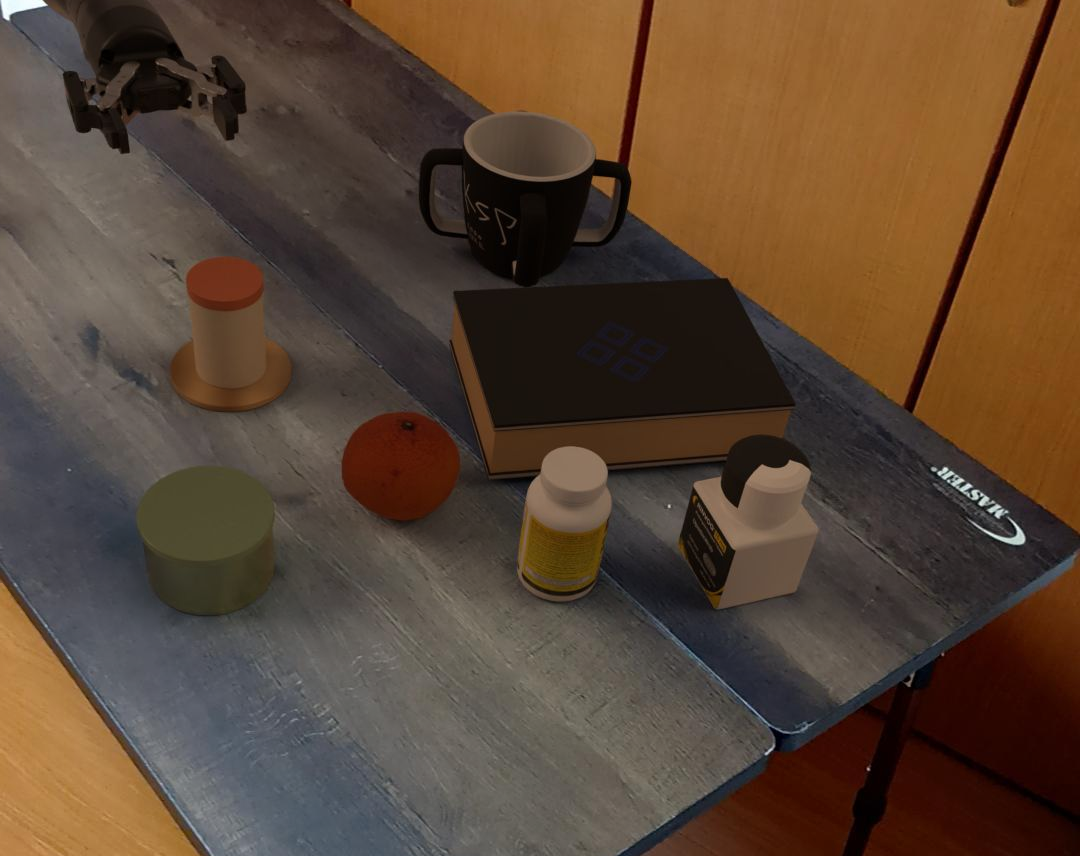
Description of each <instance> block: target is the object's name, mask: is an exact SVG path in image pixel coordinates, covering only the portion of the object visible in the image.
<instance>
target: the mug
mask: <svg viewBox="0 0 1080 856" xmlns="http://www.w3.org/2000/svg"><path fill="white" fill-rule="evenodd" d="M419 165H420V166H419V177H418V204H419V210H420V214H421V217H422V219H423V221H424V223H425V225H426V226H427V228H428V229H429V230H430V232H432V233H433V234H435V235H438V236H440V237H446V238H455V239H462V240H463V239H464V240H467V241H468V244H469V245H468V246H469V248H470V251H471V253H472V255H473V257H474V258H475V260H476V261H477V262H478V263H479V264H480V265H481V266H482V267H484V268H486V269H487V270H490V271H491V272H492V273H495V274H498V275H501V276H505V277H509V278H512V282H513V283H514V284H515V285H516V286H519V287H521V288H526V287H535V286H536V285H537V284H538V283H539V280H540V277H543V276H547V275H549V274H551V273H553V272H554V271H556V270H557V269H559V267H561V266H562V264H563V263H564V262H565V260H566V258H567V256H568V255H569V253H570V251H571V248H572V247H577V248H579V247H580V248H598V247H603V246H605V245H607V244H609V243H610V242H611V241H612V240H613V239H614V238H615V237H616V236H617V234H618V233H619V231H621V228H622V226H623V224H624V221H625V219H626V216H627V210H628V207H629V201H630V195H631V190H632V189H631V188H632V183H633V182H632V176H631V173H630V170H629V169H628V167H627V166H626V165H625V164H624V163H622V162H619V161H613V160H606V159H601V158H600V159H599V158H597V149H596V147H595V144H594V141H593V140H592V139H591V138H590V136H589V135H588V134H587V133H586V132H585V131H583V130H582V129H581V128H579V127H578V126H576V125H574V124H573V123H571V122H568V121H566V120H564V119H562V118H559V117H556V116H554V115H550V114H546V113H540V112H534V111H528V110H515V111H514V110H513V111H501V112H498V113H492V114H489V115H485V116H484V117H481V118H480V119H478V120H476V121H474V122H473V123H471V125H469V126H468V128H467V129H466V131H465V132H464V134H463V141H462V148H459V147H458V148H456V147H450V148H449V147H445V148H442V147H441V148H432V149H429V150H428V151H426V153H425V155H424V156H423V157H422V159H421V162H420V164H419ZM438 166H453V167H456V166H457V167H458V166H459V167H461V194H462V195H461V196H462V205H463V216H464V220H458V219H450V218H443V217H441V216H440V214H439V213H438V211H437V209H436V202H435V191H436V188H435V186H436V174H437V167H438ZM594 177H600V178H612V179H614V180H615V181H614V192H613V197H612V201H611V206H610V210H609V214H608V217H607V218H606V220H605V222H604V223H603V224H602V226H600V227H598V228H593V229H592V228H591V229H589V228H588V229H587V228H580V225H581V222H582V220H583V219H582V218H583V215H584V213H585V209H586V207H587V203H588V199H589V194H590V191H591V187H592V183H593V178H594Z"/></svg>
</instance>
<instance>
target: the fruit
mask: <svg viewBox="0 0 1080 856" xmlns="http://www.w3.org/2000/svg"><path fill="white" fill-rule="evenodd" d="M460 472H461V455H460V450H459V448H458V446H457V444H456V443H455V441H454V440H453V438H452V437H451V436H450V434H449V432H447V430H446V429H445V428H444V427H443V426H442V425H441V424H439V423H438V422H437V421H435V420H434V419H432V418H430V417H428V416H426V415H423V414H422V413H418V412H412V411H396V412H385V413H381V414H379V415H376V416H374V417H373V418H370V419H368V420H367V421H365V422H363V423H362V424H360V425H359V426H358V427H357V428H356V429H355V430H354V432H352V434H351V435H350V436H349V439H348V441H347V443H346V445H345V448H344V450H343V452H342V458H341V479H342V482H343V486H344V488H345V490H346V491H347V492H348V494H349V495H350V496H351V497H352V498H353V499H354V500H356V502H358V503H359V504H360V505H361V506H363V507H364V508H365V509H366V510H368V511H370V512H371V513H372V512H373V513H374V514H377V515H379V516H381V517H383V518H386V519H391V520H396V521H411V520H412V521H413V520H419V519H421V518H425V517H426V516H428V515H429V514H431V513H433V512H434V511H436V510H437V509H439V508H440V507H441V506H442V505H443V504H445V502H446V501H447V500H448V499H449V497H450V496H451V495H452V492H453V491H454V489H455V486H456V484H457V481H458V478H459V476H460Z"/></svg>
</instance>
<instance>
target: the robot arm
mask: <svg viewBox="0 0 1080 856" xmlns="http://www.w3.org/2000/svg"><path fill="white" fill-rule="evenodd" d="M42 1H43V2H44V4H45V5H46V6H48V7H49V8H50V9H51V11H54V12H55V13H57V15H59V16H61V17H62V18H64V19H65V20H68V21H69V22H72V24H73V26H74V28H75V30H76V32H77V34H78V37H79V42H80V45H81V48H82V51H83V55H84V57H85V60H86V62H88V64H89V65H90V67H91V69H92V71H93V73H94V75H95V77H94V78H93V77H92V78H85V77H81V78H80V76H79V73H78V72H77V71H75V70H65V71H63V73H62V79H63V86H64V92H65V98H66V99H65V100H66V103H67V107H68V110H69V113H70V116H71V120H72V122H73V125H74V129H75V131H76V133H79V134H88V133H91V131H92V129H96V130H99V132H100V134H102V135H103V137H104V139H105V141H106V143H107V145H108V147H109V148H111V149H112V150H118V151H119V154H120V155H126V154H127V155H128V154H131V149H130V141H129V133H128V128H127V127H126V126H128V124H129V123H130V122H131V121H132V120H133V119H134V118H135V116H136V115H137V114H141V115H143V114H150V113H155V112H158V111H175V110H177V111H179V112H183V113H185V114H188V115H190V116H193V117H196V118H198V117H200V116H203V115H204V116H207V117H209V118H212V119H213V122H214V124H215V125H216V127H217V129H218V131H219V132H220V135H221V136H222V138H223V140H224V141H225V142H230V141H235V137H236V136H235V135H236V134H239V132H240V126H239V125H240V124H239V123H240V122H239V115H244V114H246V113H247V112H248V106H247V99H246V98H247V97H246V91H247V88H246V87H247V85H246V83H245V81H244V80H243V79H242V77H241V76H240V75H239V73H238V72H237V71H236V70H235V68H234V67H233V66H232V64H231V63H230V62H229V60H228V59H227V57H226V56H223V55H220V54H219V55H213V56H212V57H211V64H209V65H203V66H196V65H195V64H194V63H192V62H191V61H188V60H187V59H186V58H185V56H184V53H183V51H182V50H181V48H180V46H179V44H178V42H177V41H176V39H175V38H174V35H173V34H172V32H171V30H170V29H169V27H168V26H167V24H166V22H165V20H164V19H163V17H162V16H161V14H160V12H159V11H158V10H157V7H156V6H155V5H153V4H152V2H151V1H150V0H42ZM94 95H98V96H99V97H100V98H99V99H98V100H97V102H96V104H90V101H92V100H93V97H94ZM208 96H209V97H211V100H212V101H211V102H212V103H210V101H209V100H208ZM190 97H191V100H190Z"/></svg>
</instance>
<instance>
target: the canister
mask: <svg viewBox="0 0 1080 856" xmlns="http://www.w3.org/2000/svg"><path fill="white" fill-rule="evenodd" d="M185 287H186V294H187V295H188V302H189V312H190V322H191V332H192V340H193V344H194V354H195V364H196V371H197V373H198V375H199V377H200V378H201V379H202V380H203V381H205V382H206V383H208V384H210V385H212V386H215V387H219V388H225V389H236V388H242V387H246V386H249V385H251V384H253V383H255V382H257V381H258V380H259V379H260V378H261V377H262V376H263V375H264V373H265V371H266V349H265V338H266V334H265V331H266V330H265V314H264V313H265V311H264V294H263V293H264V290H265V287H264V275H263V273H262V271H261V269H260V268H259V267H258V266H256V264H254V263H252V262H250V261H248V260H246V259H242V258H239V257H233V256H217V257H211V258H207V259H204V260H202V261H199V262H197V263H195V264H194V265H193V266H192V267H190V269H189V270H188V271H187V274H186V276H185Z"/></svg>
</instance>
